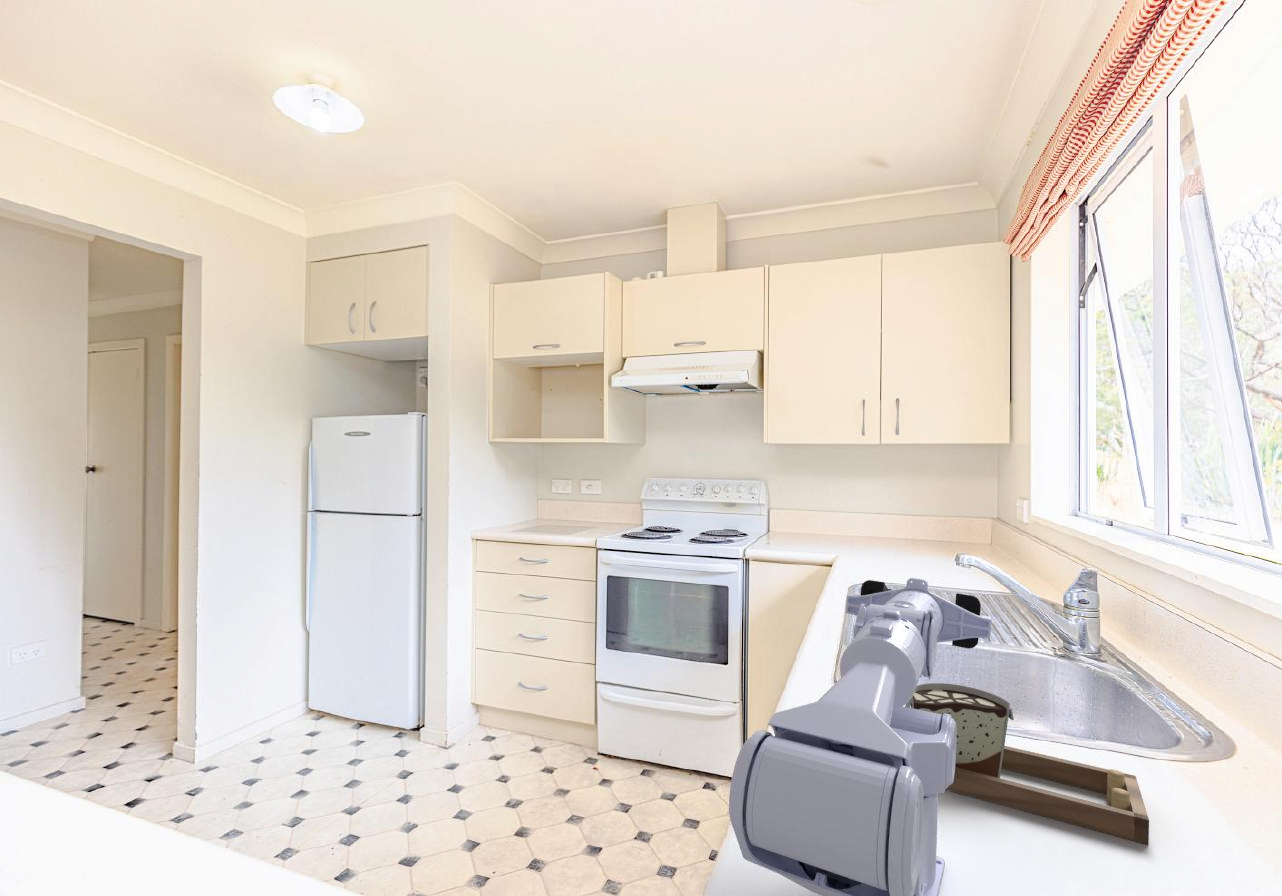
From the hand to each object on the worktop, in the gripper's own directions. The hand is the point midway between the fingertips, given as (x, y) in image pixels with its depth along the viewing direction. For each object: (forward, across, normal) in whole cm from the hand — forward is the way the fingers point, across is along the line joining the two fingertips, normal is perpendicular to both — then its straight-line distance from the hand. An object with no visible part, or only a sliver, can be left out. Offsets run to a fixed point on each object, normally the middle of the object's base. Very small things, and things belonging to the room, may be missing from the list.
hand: (924, 604), depth 78 cm
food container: (+6, -4, +21) cm, 22 cm away
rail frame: (+6, -12, +21) cm, 25 cm away
